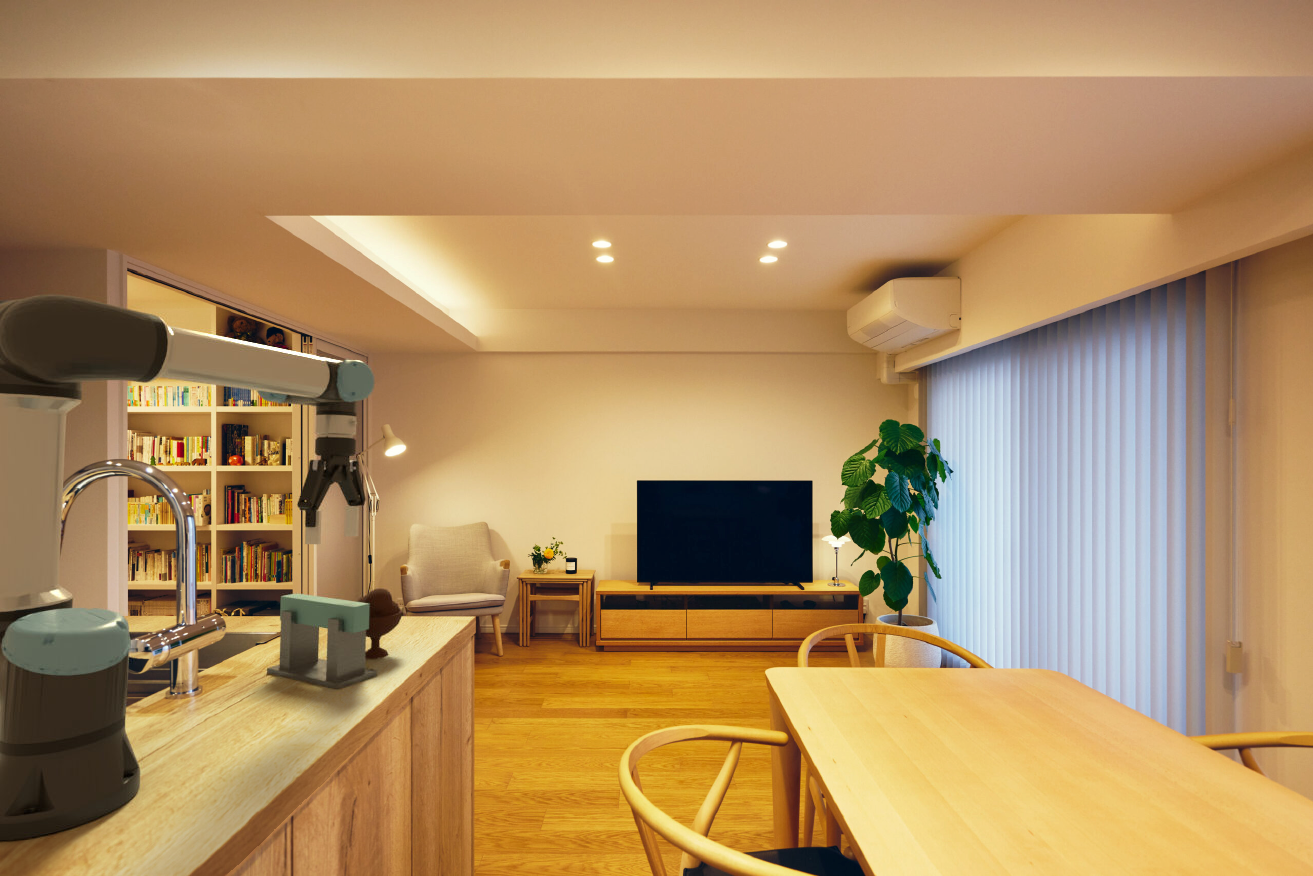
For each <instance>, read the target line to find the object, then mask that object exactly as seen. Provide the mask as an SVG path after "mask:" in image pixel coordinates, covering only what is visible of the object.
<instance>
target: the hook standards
mask: <svg viewBox="0 0 1313 876" xmlns="http://www.w3.org/2000/svg"><path fill="white" fill-rule="evenodd" d="M295 614H296V612H295V611H289V610H284V611H281V621H280V640H279V641H280V642H279V644H280V645H279V664H276V665H273V666H270V667H267V668H266V673H267V674H270V675H273V676H274V675H275V676H278V677H283V678H287V679H291V680H296V681H300V682H304V683H309V684H313V685H316V686H317V685H318V686H321V687H326V688H330V689H333V690H340V689H343V688H346V687H348V686H353V685H354V684H357V683H360V682H362V681H365V680H369V679H371V678H373V677H376V676H378V670H377V669H376V670H375V669H372V668H367V667H366V659H365V652H366V651H367V650H366V648H367V646H366V645H367V644H366V642H367V637H366V630H363V631H360V632H356V633H350V632H345V631H343V619H339V618H328V629H327V637H326V638H327V639H326V640H327V641H326V659H322V658H319V648H320V647H319V645H320V640H319V639H320V627H315V626H310V625H304V624H298V623H295Z"/></svg>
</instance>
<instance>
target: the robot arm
mask: <svg viewBox="0 0 1313 876" xmlns="http://www.w3.org/2000/svg"><path fill="white" fill-rule="evenodd" d="M158 378H161V379H169V380H175V381H183V382H184V381H185V382H191V383H198V384H199V383H200V384H206V385H215V386H221V387H228V388H229V387H230V388H237V389H244V390H252V391H256V392H257V393H258V395H259V397H261V399H263V400H264V401H267V402H272V403H277V404H291V405H302V406H312V407H315V411H316V412H315V415H316V416H315V432H314V433H315V434H316V435H317V436H318V437H316V438H315V440H314V441H315V443H314V453H315V455H316V456H320V459H310V460H309V461H308V462H309V463H308V472H307V475H306V477H305V480H304V483H303V487H302V489H301V492H300V496H299V498H298V501H297V505H296V506H297V508H299V511H304V512H305V513H304V514H305V516H304V521H305V522H304V525H305V527H304V528H305V531H304V545H320V544H321V533H322V510H319V509H320V506H321V505H322V503H323V501H324V499H325V497H326V495H327V493H328V491H329V489H330V488H331V485H334V484H335V483H336V484H338V486H339V488H340V490H341V492H342V495H343V497H344V500H345V501H346V503H347V505H345V507H344V532H343V533H344V535H343V536H344V537H356V538H357V537H359V527H360V526H359V525H360V524H359V523H360V522H359V518H360V517H359V516H360V515H359V514H360V507H361V506H365V502H366V500H367V499H366V495H365V490H364V486H363V482H362V477H361V473H360V467H359V465H360V464H359V460H358V459H357V460H355V459H354V460H353V459H351V460H350V457H354V456H355V455H356V454H357V453H356V451H357V440H356V438H354V437H353V436H357V435H356V434H357V425H358V422H357V415H358V414H357V411H358V401H364V400H365V399H367V398H368V397H370V395H372V393H373V390H374V388H375V375H374V372H373V370H372V368H371V367H370V366H369V365H368V364H367V363H366V362H363V361H361V360H357V359H355V360H353V359H349V358H348V359H344V360H338V359H332V358H328V357H321V356H317V355H313V354H309V353H303V352H299V351H295V350H294V351H293V350H288V349H284V348H279V347H274V346H269V345H265V344H260V343H255V342H249V341H245V340H240V339H235V338H231V337H225V336H222V335H218V334H217V335H216V334H211V333H207V332H202V331H196V330H193V329H188V328H182V327H178V326H173V325H168V324H167V323H166V322H165V320H164V319H163V318H161V316H159V315H155V314H151V313H147V312H142V311H137V310H133V309H130V308H125V307H120V306H118V305H117V306H116V305H113V304H109V303H104V302H100V301H97V300H91V299H88V298H83V297H80V296H79V297H78V296H73V295H64V294H54V293H53V294H52V293H51V294H39V295H33V296H29V297H25V298H20V299H14V300H0V841H12V840H13V841H14V840H22V839H30V838H35V837H40V836H44V835H49V834H53V833H57V832H61V831H64V830H67V829H71V828H73V827H76V826H80V825H83V824H85V823H88V822H91V821H93V820H96V819H98V818H100V817H102V816H104V815H107V814H109V813H111V812H113V811H115V810H116V809H119V808H120V807H121V806H124V804H126V803H127V802H128V801H130V800H131V799H133V798H134V797H135V795H136V794H137V793H138V792H139V790H140V785H141V767H140V765H139V763H138V760H137V757H136V754H135V752H134V750H133V747H132V744H131V743H130V740H129V736H128V734H127V732H126V718H127V717H126V714H127V699H128V698H127V697H128V696H127V695H128V679H129V662H130V661H129V660H130V659H129V658H130V650H131V637H130V626H129V622H128V620H127V618H126V617H125V616H124V615H122V614H121V613H119V612H116V611H114V610H111V609H106V608H105V609H104V608H94V607H93V608H86V607H73V600H74V597H73V596H74V595H73V594H72V593H71V592H70V591H68V590H67V589H65V588H64V587H62V586H61V584H60V581H59V580H60V564H61V562H60V561H61V560H60V559H61V542H62V541H61V538H62V518H63V516H62V515H63V499H64V498H63V496H64V495H63V493H64V492H63V491H64V477H65V476H64V474H65V473H64V472H65V471H64V470H65V454H66V453H65V447H66V431H67V426H66V425H67V414H68V413H69V412H70V411H71V410H73V409H74V408H76V407H77V406H79V405H80V404H82V395H83V394H82V393H83V383H86V382H87V383H88V382H101V381H102V382H103V381H105V382H106V381H128V382H138V383H143V384H145V383H147V384H148V383H151V382H154V381H155V380H156V379H158Z"/></svg>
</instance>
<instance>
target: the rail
mask: <svg viewBox="0 0 1313 876" xmlns="http://www.w3.org/2000/svg"><path fill="white" fill-rule="evenodd" d="M369 605H370V604H368V603H361V602H357V601H353V600H347V599H340V598H339V599H338V598H333V597H325V596H318V595H312V594H304V593H303V594H302V593H291V594H286V595H282V596H280V609H279V611H280V613H279V614H280V615H279V621H280V622H281V611H284V610H289V611H295V612H296V614H295V623H298V624H304V625H310V626H315V627H319V628H322V629H327V630H328V618H339V619H343V631H345V632H350V633H356V632H360V631H363V630H367V629H369Z"/></svg>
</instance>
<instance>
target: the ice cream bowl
mask: <svg viewBox="0 0 1313 876" xmlns="http://www.w3.org/2000/svg"><path fill="white" fill-rule="evenodd" d="M356 602H361V603H368V604H370V605H369V629H367V630H366V638H370V641H371V642H370V648H369V649H367V650H366V651H365V660H377V659H380V658H381V659H382V658H385V657H387V656H388V655H389V653H388V650H386V649H385V648H382V647H380V640H381V638H382V637H383V636H386V635H388V634H389V633H390V632H391V631H393V630H394V629H396V627H397V626H398V625H399V624H400V621H401V619H402V616H403V611H402V609H401V608H400V606H399V604H398V603H397V602H396V601H394V600H393V596H392V593H391V592H390V591H389V590H388V589H385V588H374V589H373V590H371V591H370V592H368V593H367V594H366V595H363V596H362V597H360V598H358V599H357V601H356Z"/></svg>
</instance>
